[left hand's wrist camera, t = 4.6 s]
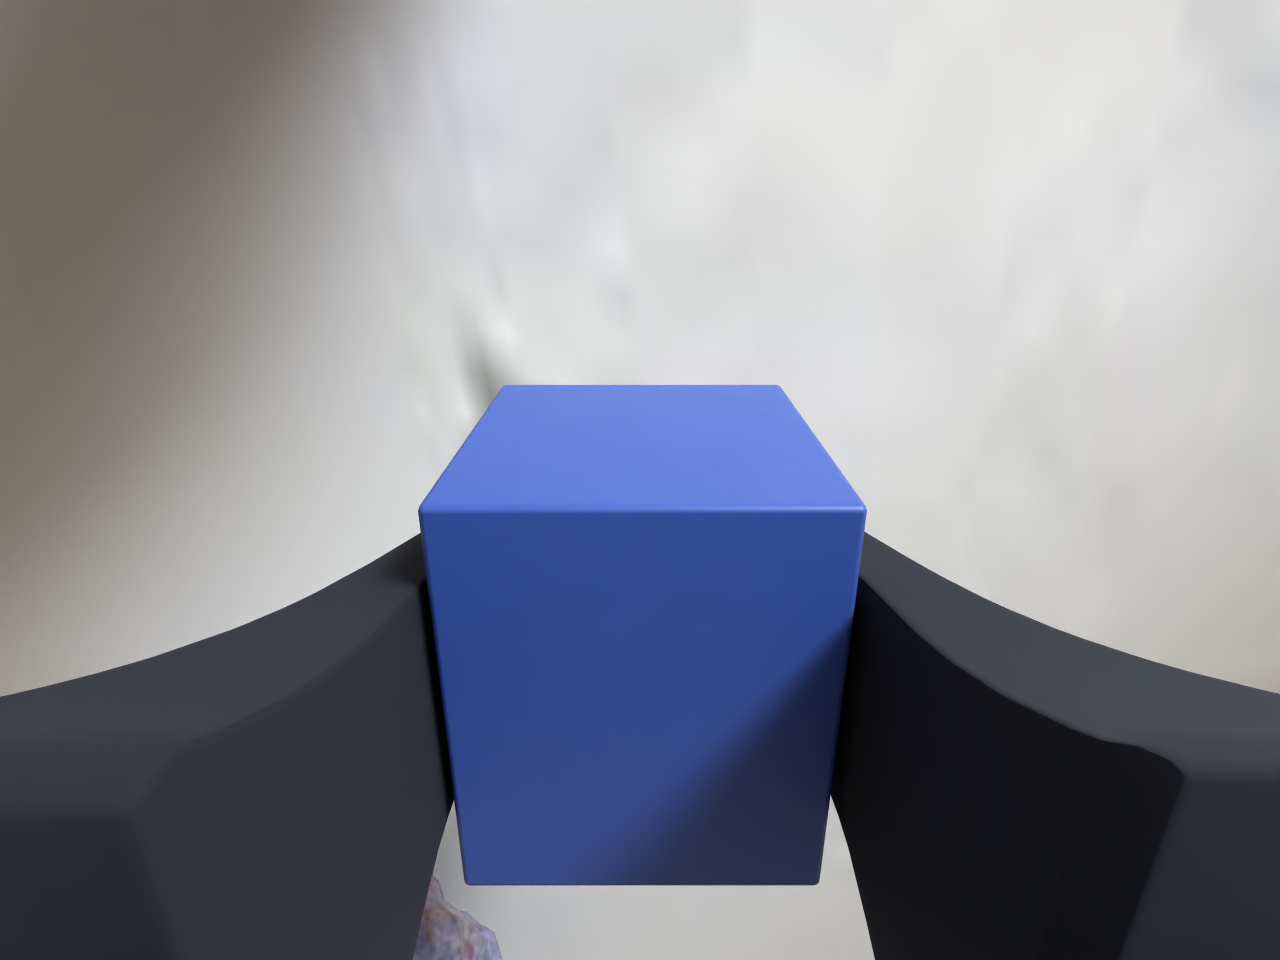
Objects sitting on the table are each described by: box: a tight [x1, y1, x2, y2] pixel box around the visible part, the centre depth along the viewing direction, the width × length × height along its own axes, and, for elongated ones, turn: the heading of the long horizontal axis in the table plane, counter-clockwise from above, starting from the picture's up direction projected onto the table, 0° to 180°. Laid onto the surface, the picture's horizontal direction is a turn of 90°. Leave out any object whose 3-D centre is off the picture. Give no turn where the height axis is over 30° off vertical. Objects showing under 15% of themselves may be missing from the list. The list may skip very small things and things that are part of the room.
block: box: [418, 385, 867, 885], centre depth 10 cm, size 4×5×5 cm
